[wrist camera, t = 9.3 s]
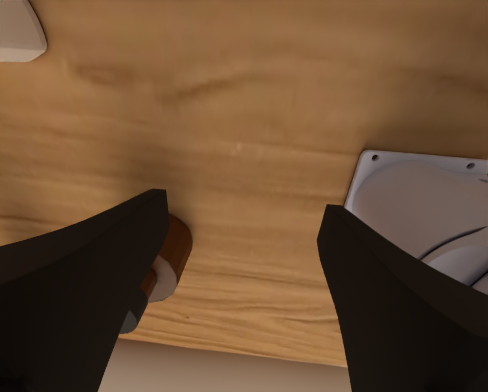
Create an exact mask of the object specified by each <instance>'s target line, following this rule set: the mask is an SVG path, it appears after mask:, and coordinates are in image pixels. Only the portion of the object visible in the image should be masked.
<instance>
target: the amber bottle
mask: <svg viewBox="0 0 488 392" xmlns="http://www.w3.org/2000/svg"><path fill="white" fill-rule="evenodd" d="M169 222H170V228H169V231H168V234H167V236H166V239H165V241H164V244H163V246H162V248H161V250H160V252H159V253H158V255H157V257H156V259H155V261H154V262H153V264H152V266H151V268H150V270H149V271H148V273H147V275H146V277H145V278H144V280H143V282H142V284H141V286H140V288H141V289H142V290H143V291H144V292H145V294H146V295H147V298H148V303H152V302H158V301H163V300H165V299H166V298H168V297H169V296H171V295H172V294H173V293H174V291H175V289H176V287H177V285H178V282H179V280H180V277H181V275H182V272H183V270H184V267H185V265H186V262H187V260H188V257H189V255H190V252H191V250H192V236H191V233H190V231H189V230H188V228H187V227H186V225H185V224H184V223H183V222H182V221H181V220H179V219H178V218H177V217H175V216H173V215H171V214H169Z"/></svg>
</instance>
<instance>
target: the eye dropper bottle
mask: <svg viewBox="0 0 488 392" xmlns="http://www.w3.org/2000/svg"><path fill="white" fill-rule="evenodd" d="M46 49H47V42H46V38H45V35H44V32H43V30H42V27H41V25H40V23H39V20H38V18H37V16H36V14H35V12H34V10H33V9H32V7H31V5H30V3H29V2H28V0H0V62H29V61H31V60H33V59H35V58H37V57H38V56H40V55H42V54H43V53H44V52H45V51H46Z"/></svg>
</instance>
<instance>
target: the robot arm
mask: <svg viewBox="0 0 488 392" xmlns="http://www.w3.org/2000/svg"><path fill="white" fill-rule="evenodd" d="M374 155H377V157H376V158H375V159H372V157H373V156H374ZM470 163H471V164H470ZM468 164H470V166H468V167H467V165H468ZM487 173H488V161H487V160H484V159H473V158H461V157H449V156H438V155H426V154H415V153H403V152H391V151H380V150H365V151H363V152H362V153H361V155H360V158H359V161H358V164H357V167H356V171H355V174H354V177H353V180H352V183H351V186H350V189H349V192H348V196H347V199H346V202H345V205H344V207H343V206H341V205H330V204H327V205H326V209H325V213H324V216H323V220H322V223H321V227H320V230H319V234H318V238H317V245H318V252H319V257H320V261H321V265H322V268H323V271H324V274H325V277H326V280H327V284H328V287H329V290H330V293H331V296H332V299H333V302H334V305H335V309H336V312H337V316H338V320H339V325H340V330H341V334H342V339H343V344H344V349H345V355H346V360H347V365H348V371H349V377H350V383H351V389H352V392H488V176H487ZM169 228H170V222H169V213H168V204H167V194H166V190H161V189H151V190H148V191H146V192H143V193H141V194H139V195H137V196H135V197H133V198H131V199H129V200H127V201H125V202H123V203H121V204H119V205H117V206H115V207H113V208H111V209H108V210H106V211H104V212H102V213H100V214H97V215H95V216H93V217H91V218H88V219H86V220H83V221H81V222H78V223H76V224H73V225H70V226H67V227H65V228H62V229H59V230H56V231H53V232H50V233H46V234H43V235H40V236H36V237H33V238H30V239H26V240H23V241H19V242H15V243H11V244H8V245H4V246H0V392H98V389H99V386H100V384H101V381H102V378H103V375H104V372H105V369H106V367H107V364H108V361H109V359H110V356H111V353H112V351H113V348H114V345H115V343H116V340H117V338H118V335H119V333H120V330H121V328H122V326H123V323H124V321H125V318H126V316H127V314H128V311H129V309H130V307H131V304H132V302H133V300H134V297H135V295H136V293H137V291H138V289H139V287H140V286H141V284H142V282H143V280H144V278H145V277H146V275H147V273H148V271H149V270H150V268H151V266H152V264H153V262H154V261H155V259H156V257H157V255H158V253H159V252H160V250H161V248H162V246H163V244H164V241H165V239H166V236H167V234H168V231H169Z"/></svg>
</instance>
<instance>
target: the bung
mask: <svg viewBox="0 0 488 392" xmlns="http://www.w3.org/2000/svg"><path fill="white" fill-rule="evenodd" d="M147 304H148V298H147V295H146V294H145V292H144V291H143V290H142V289H141V288H140V287H139V289H138V291H137V293H136V295H135V297H134V300H133V302H132V304H131V307H130V309H129V311H128V314H127V316H126V318H125V321H124V323H123V326H122V328H121V330H120V333H119V334H125V333H129V332H132V331H133V330H134V329H135V328H136V327H137V325H138V323H139V321H140V319H141V317H142V315H143V313H144V311H145V309H146V307H147Z"/></svg>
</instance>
